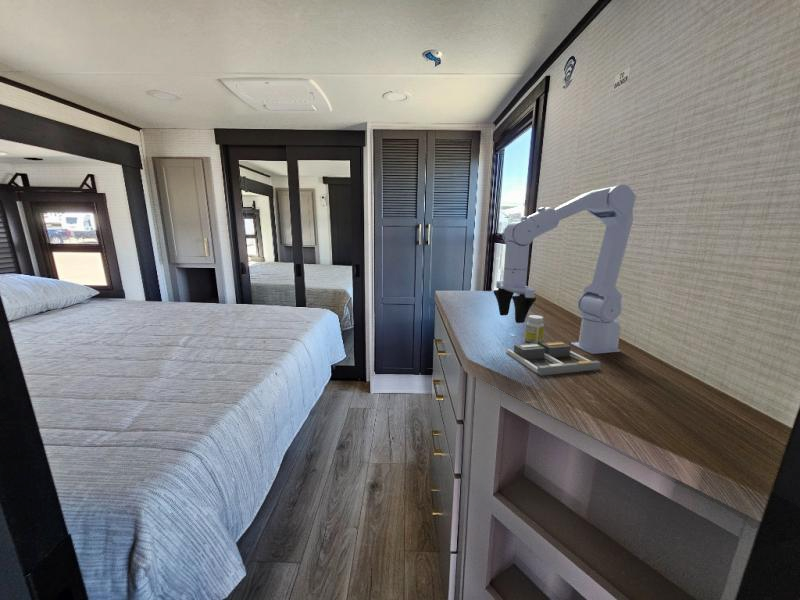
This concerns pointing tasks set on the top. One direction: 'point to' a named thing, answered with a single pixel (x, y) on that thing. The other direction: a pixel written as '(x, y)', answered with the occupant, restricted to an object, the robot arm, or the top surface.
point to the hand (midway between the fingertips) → (511, 318)
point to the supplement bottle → (534, 329)
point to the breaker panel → (558, 364)
